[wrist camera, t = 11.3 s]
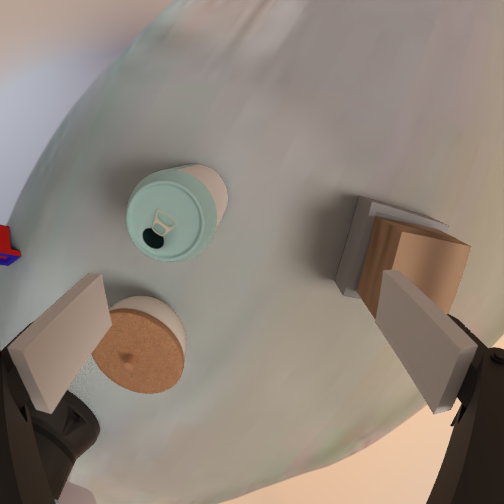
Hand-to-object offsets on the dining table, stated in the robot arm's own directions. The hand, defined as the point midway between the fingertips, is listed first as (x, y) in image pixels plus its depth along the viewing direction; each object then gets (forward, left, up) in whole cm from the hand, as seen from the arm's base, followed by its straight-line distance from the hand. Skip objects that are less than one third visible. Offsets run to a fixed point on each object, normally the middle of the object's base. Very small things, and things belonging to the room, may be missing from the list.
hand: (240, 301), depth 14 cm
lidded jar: (-9, -15, -20) cm, 27 cm away
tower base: (+16, 0, -20) cm, 26 cm away
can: (-6, +1, -20) cm, 21 cm away
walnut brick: (+16, 0, -16) cm, 23 cm away
